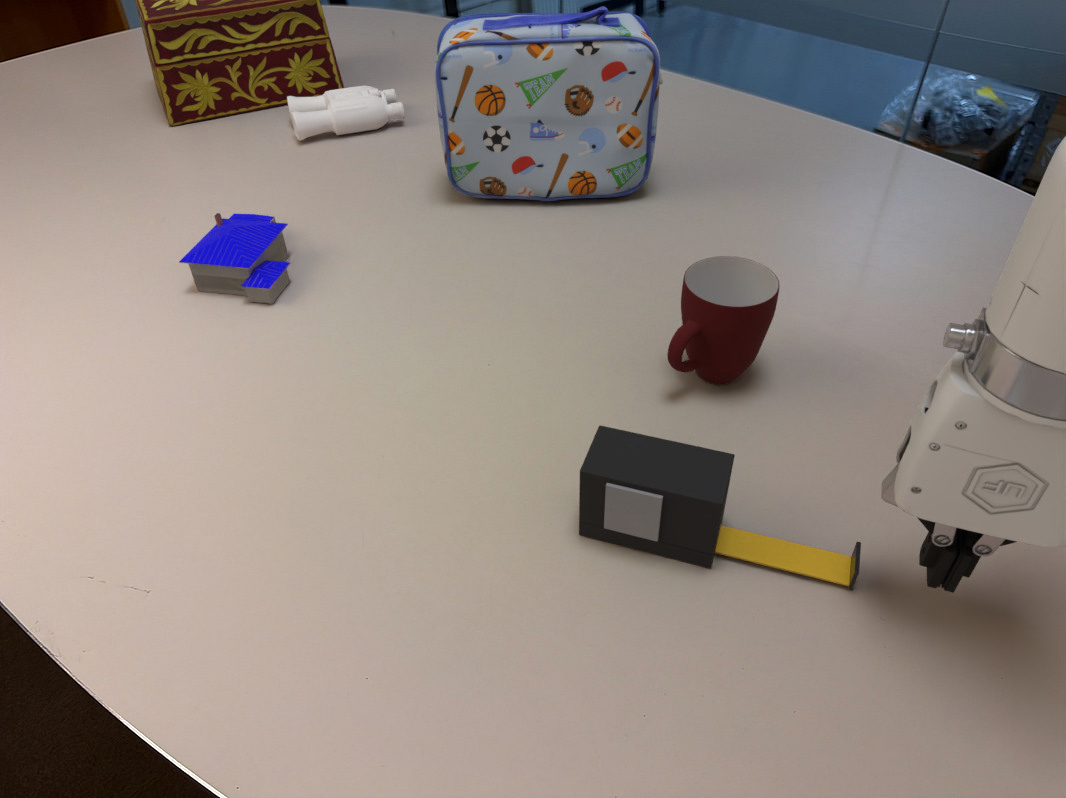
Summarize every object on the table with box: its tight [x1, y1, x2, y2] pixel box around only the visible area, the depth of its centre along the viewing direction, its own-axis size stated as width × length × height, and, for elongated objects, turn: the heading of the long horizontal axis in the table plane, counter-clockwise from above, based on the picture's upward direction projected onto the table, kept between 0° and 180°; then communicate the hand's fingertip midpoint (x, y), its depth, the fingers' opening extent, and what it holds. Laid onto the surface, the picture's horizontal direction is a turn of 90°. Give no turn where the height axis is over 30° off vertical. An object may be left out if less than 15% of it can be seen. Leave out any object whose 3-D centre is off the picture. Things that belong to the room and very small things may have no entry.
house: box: [178, 212, 291, 305], centre depth 90 cm, size 11×14×6 cm
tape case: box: [578, 425, 736, 569], centre depth 59 cm, size 10×6×7 cm, turn 70°
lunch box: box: [434, 5, 664, 202], centre depth 97 cm, size 28×10×22 cm, turn 92°
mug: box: [667, 255, 781, 386], centre depth 71 cm, size 10×8×10 cm
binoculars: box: [287, 85, 405, 142], centre depth 120 cm, size 10×16×5 cm, turn 109°
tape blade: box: [714, 524, 862, 591], centre depth 58 cm, size 10×3×2 cm, turn 70°
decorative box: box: [134, 0, 345, 127], centre depth 129 cm, size 28×19×15 cm
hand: (939, 572), depth 55 cm, fingers closed
